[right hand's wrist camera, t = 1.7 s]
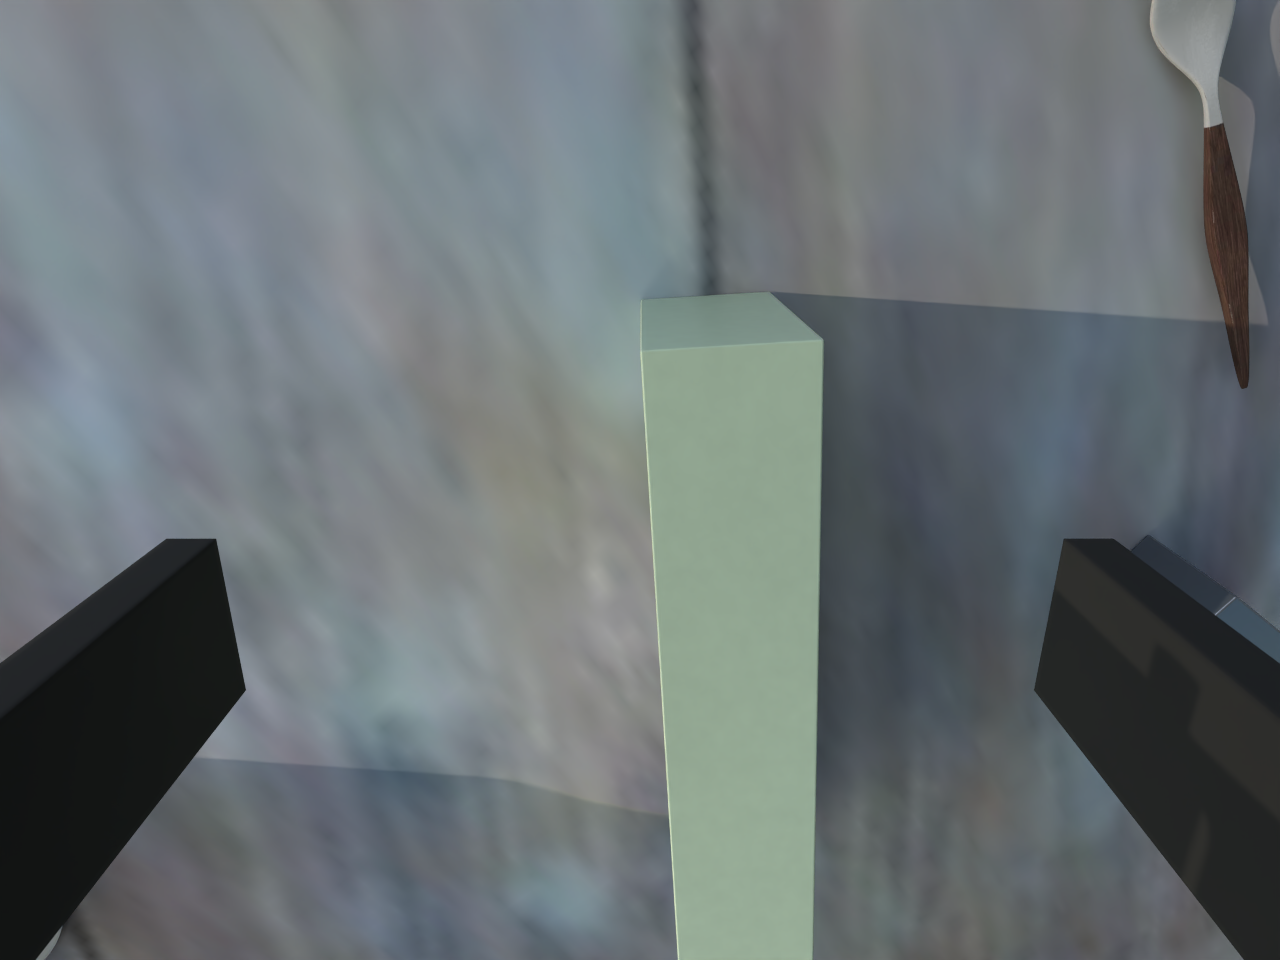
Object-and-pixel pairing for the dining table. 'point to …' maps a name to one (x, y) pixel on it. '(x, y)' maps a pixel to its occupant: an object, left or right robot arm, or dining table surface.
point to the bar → (737, 613)
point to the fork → (1213, 153)
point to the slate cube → (1210, 595)
